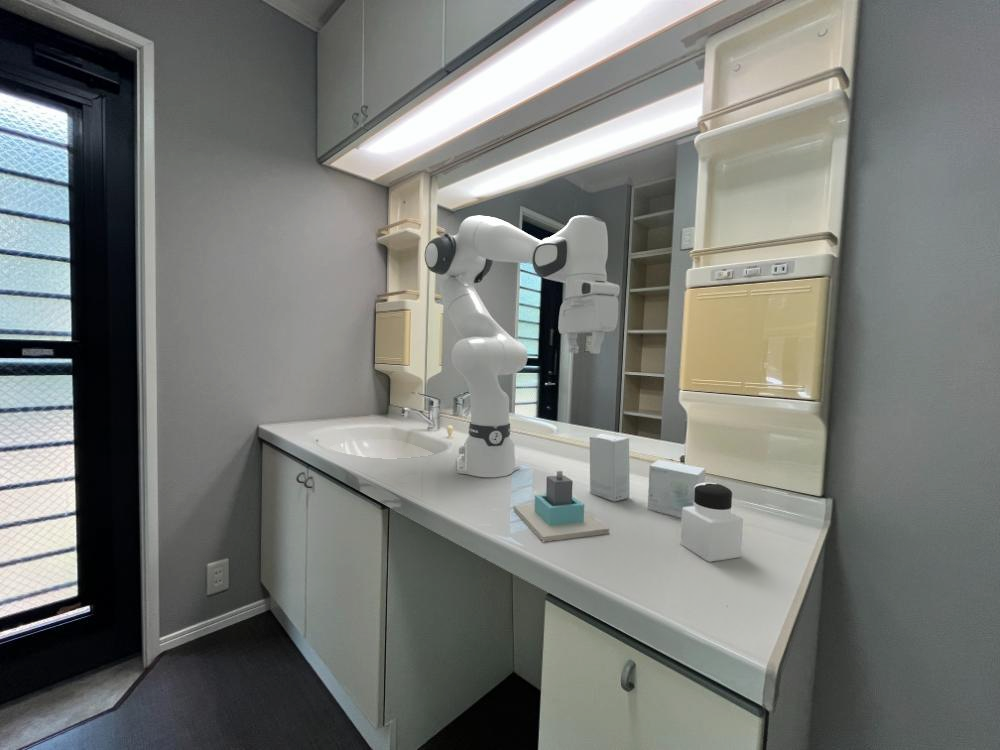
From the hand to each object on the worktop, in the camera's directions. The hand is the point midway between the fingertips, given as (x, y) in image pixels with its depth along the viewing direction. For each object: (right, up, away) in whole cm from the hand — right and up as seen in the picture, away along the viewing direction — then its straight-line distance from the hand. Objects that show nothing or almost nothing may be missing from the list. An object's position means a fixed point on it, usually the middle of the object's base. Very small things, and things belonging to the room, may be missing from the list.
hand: (583, 353), depth 93 cm
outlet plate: (-7, -35, -6) cm, 36 cm away
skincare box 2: (+21, -36, +1) cm, 41 cm away
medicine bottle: (+19, -37, -18) cm, 45 cm away
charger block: (-7, -34, -6) cm, 36 cm away
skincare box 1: (+8, -35, +10) cm, 37 cm away
